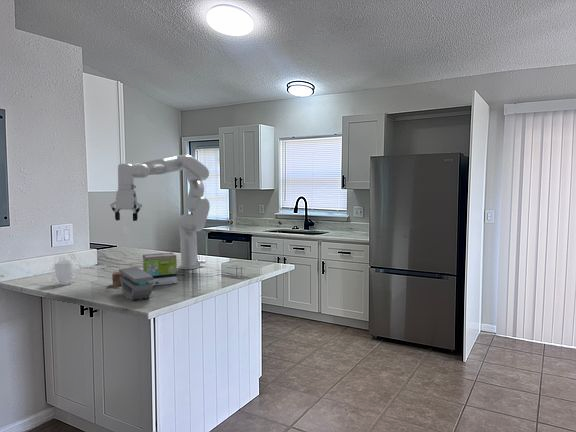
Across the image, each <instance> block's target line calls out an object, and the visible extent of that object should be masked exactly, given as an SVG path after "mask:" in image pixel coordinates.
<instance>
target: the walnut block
mask: <svg viewBox="0 0 576 432" xmlns="http://www.w3.org/2000/svg"><path fill="white" fill-rule="evenodd" d="M111 276H112V277H111V279H112V287H122V286H121V282H120V277H121V276H124V275H122V274H121V273H119V271H116V272H112V275H111Z"/></svg>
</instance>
